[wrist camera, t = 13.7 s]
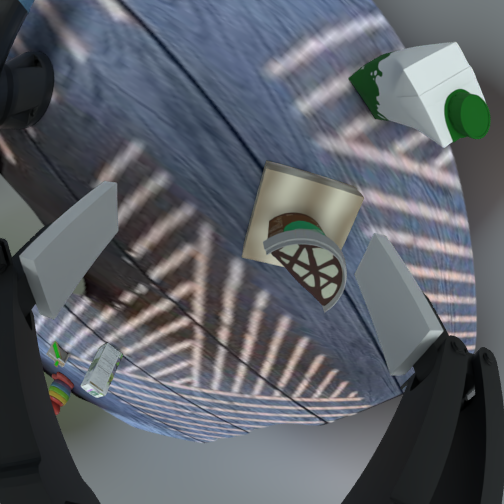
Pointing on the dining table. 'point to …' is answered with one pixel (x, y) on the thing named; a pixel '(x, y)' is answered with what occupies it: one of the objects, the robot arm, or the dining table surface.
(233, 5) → the dining table surface
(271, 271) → the dining table surface
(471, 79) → the milk carton
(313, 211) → the birch riser block
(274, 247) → the food container
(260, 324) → the dining table surface
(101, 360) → the syrup box
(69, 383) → the stacking bear
